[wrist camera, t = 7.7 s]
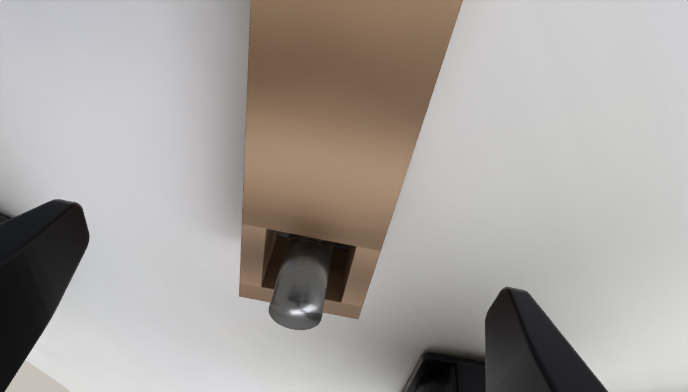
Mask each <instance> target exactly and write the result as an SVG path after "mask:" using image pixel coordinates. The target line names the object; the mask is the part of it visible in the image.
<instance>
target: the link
mask: <svg viewBox="0 0 688 392" xmlns="http://www.w3.org/2000/svg"><path fill="white" fill-rule="evenodd" d="M462 1H463V0H251V6H250V31H249V57H248V83H247V108H246V134H245V159H244V185H243V210H242V236H241V262H240V287H239V296H240V297H245V298H251V299H256V300H261V301H266V302H271V299H272V296H273V292H274V288H275V285H276V281H277V278H278V274H279V271H280V267H281V264H282V260H283V257H284V253H285V249H286V246H287V242H288V239H286V238H281V237H277V231H281V232H286V233H291V234H296V235H301V236H306V237H311V238H316V239H321V240H326V241H331V242H337V243H342V244H347V245H349V249H348V251H347V250H342V249H337V248H333V252H332V258H331V264H330V270H329V276H328V282H327V288H326V294H325V300H324V306H323V311H322V312H324V313H329V314H334V315H339V316H344V317H350V318H355V319H358V318H359V315H360V312H361V309H362V306H363V303H364V300H365V297H366V294H367V291H368V288H369V285H370V282H371V279H372V276H373V273H374V270H375V267H376V264H377V261H378V257H379V254H380V251H381V248H382V245H383V242H384V239H385V236H386V233H387V230H388V227H389V224H390V221H391V218H392V215H393V212H394V209H395V206H396V203H397V200H398V197H399V193H400V190H401V187H402V184H403V181H404V178H405V175H406V172H407V169H408V166H409V163H410V160H411V157H412V154H413V151H414V148H415V145H416V142H417V139H418V136H419V133H420V129H421V126H422V123H423V120H424V117H425V114H426V111H427V108H428V105H429V102H430V99H431V96H432V93H433V90H434V87H435V84H436V81H437V78H438V75H439V72H440V69H441V65H442V62H443V59H444V56H445V53H446V50H447V47H448V44H449V41H450V38H451V35H452V32H453V29H454V26H455V23H456V20H457V17H458V14H459V11H460V8H461V5H462Z"/></svg>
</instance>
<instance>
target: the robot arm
mask: <svg viewBox="0 0 688 392" xmlns="http://www.w3.org/2000/svg"><path fill="white" fill-rule="evenodd" d="M88 243H89V231H88V227H87V223H86V220H85V216H84V212H83V209H82V207H81V206H80V204H78V203H76V202H71V201H66V200H60V199H55V200H52V201H49V202H47V203H45V204H43V205H40V206H38V207H36V208H34V209H32V210H29V211H27V212H25V213H23V214H21V215H18V216H16V217H14V218H12V219H10V220H8V221H5V222H3V223H1V224H0V392H5V390H6V389H7V387H8V386H9V384H10V383H11V381H12V379H13V378H14V376H15V375H16V373H17V372H18V370H19V368H20V367H21V365H22V364H23V362H24V361H25V359H26V358H27V356H28V355H29V353H30V351H31V350H32V348H33V347H34V345H35V344H36V342H37V341H38V339H39V337H40V336H41V334H42V333H43V331H44V330H45V328H46V326H47V325H48V323H49V321H50V320H51V318H52V316H53V314H54V312H55V311H56V309H57V307H58V305H59V303H60V301H61V299H62V297H63V295H64V293H65V291H66V289H67V287H68V285H69V283H70V281H71V279H72V277H73V275H74V273H75V271H76V269H77V267H78V265H79V263H80V261H81V259H82V257H83V255H84V253H85V250H86V248H87V246H88ZM485 360H486V364H485V363H480V362H475V361H470V360H464V359H459V358H454V357H449V356H444V355H438V354H433V353H426V354H424V355H423V356H422V357H421V359H420V361H419V362H418V364H417V366H416V368H415V370H414V372H413V374H412V376H411V378H410V379H409V381H408V383H407V385H406V387H405V389H404V391H403V392H608V391H607V390H606V388H605V387H604V386H603V385H602V383H601V382H600V381H599V380H598V378H597V377H596V376H595V375H594V373H593V372H592V371H591V370H590V368H589V367H588V366H587V365H586V363H585V362H584V361H583V360H582V358H581V357H580V356H579V355H578V354H577V352H576V351H575V350H574V349H573V347H572V346H571V345H570V344H569V342H568V341H567V340H566V339H565V337H564V336H563V335H562V334H561V332H560V331H559V330H558V329H557V327H556V326H555V325H554V324H553V322H552V321H551V320H550V319H549V317H548V316H547V315H546V314H545V312H544V311H543V310H542V309H541V308H540V306H539V305H538V304H537V303H536V301H535V300H534V299H533V298H532V296H531V295H530V294H529V293H528V292H527V291H525V290H521V289H516V288H511V287H505V288H503V289H502V290H501V291H500V293H499V294H498V296H497V298H496V299H495V301H494V302H493V304H492V306H491V307H490V309H489V310H488V312H487V315H486V319H485Z"/></svg>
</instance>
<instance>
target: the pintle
mask: <svg viewBox="0 0 688 392" xmlns="http://www.w3.org/2000/svg"><path fill="white" fill-rule="evenodd" d="M333 246H334V242H331V241H326V240H321V239H316V238H311V237H306V236H301V235H296V234H291V233H290V235H289V239H288V242H287V246H286V249H285V253H284V257H283V260H282V264H281V267H280V271H279V274H278V278H277V281H276V285H275V288H274V292H273V296H272V299H271V303H270V306H269V314H270V316H271V317H272V319H273V320H274V321H275V322H277V323H278V324H280V325H282V326H284V327H286V328H290V329H295V330H306V329H310V328H313V327H315V326H317V325H318V324H319V323H320V321H321V317H322V311H323V306H324V300H325V294H326V288H327V282H328V276H329V270H330V264H331V258H332V252H333Z"/></svg>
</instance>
